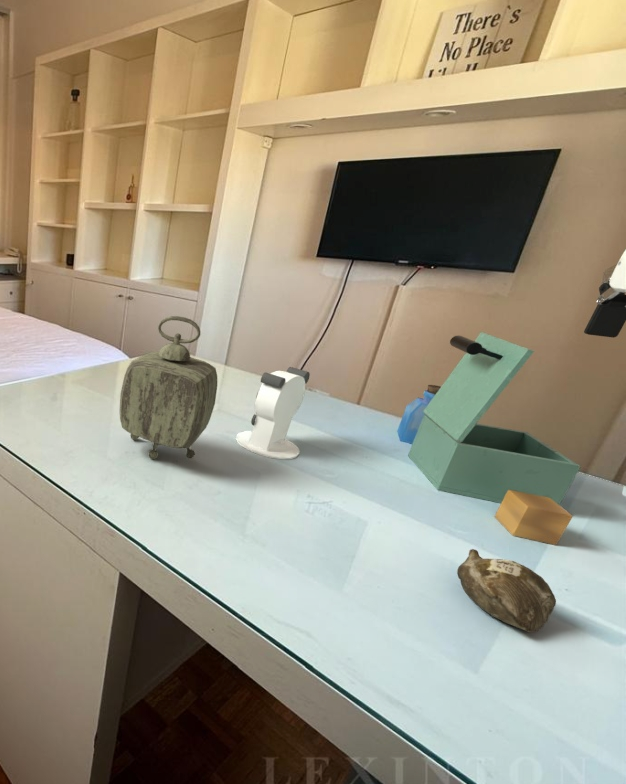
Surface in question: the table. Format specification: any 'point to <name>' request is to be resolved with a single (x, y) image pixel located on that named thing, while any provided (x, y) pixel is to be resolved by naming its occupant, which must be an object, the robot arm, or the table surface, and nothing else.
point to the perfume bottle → (415, 415)
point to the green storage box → (491, 462)
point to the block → (533, 517)
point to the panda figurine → (275, 414)
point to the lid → (475, 382)
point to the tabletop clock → (168, 395)
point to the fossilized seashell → (507, 591)
